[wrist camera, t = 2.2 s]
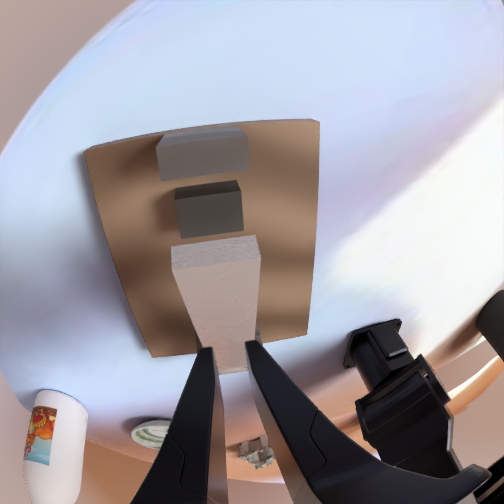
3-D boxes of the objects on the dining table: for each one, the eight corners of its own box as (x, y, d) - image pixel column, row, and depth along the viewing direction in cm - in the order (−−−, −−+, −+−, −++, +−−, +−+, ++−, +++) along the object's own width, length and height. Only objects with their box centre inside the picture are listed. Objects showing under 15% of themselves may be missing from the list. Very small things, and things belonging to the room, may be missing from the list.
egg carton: (250, 451, 45) (253, 470, 41) (232, 441, 40) (236, 462, 37) (305, 434, 44) (311, 453, 40) (294, 422, 40) (300, 444, 36)
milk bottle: (82, 394, 28) (71, 544, 11) (93, 420, 32) (89, 546, 15) (30, 382, 26) (6, 520, 9) (46, 410, 30) (32, 529, 13)
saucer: (119, 412, 31) (118, 427, 29) (189, 407, 32) (190, 424, 30) (145, 439, 36) (145, 452, 34) (205, 435, 37) (207, 448, 35)
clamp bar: (249, 355, 23) (252, 371, 22) (213, 361, 23) (215, 377, 22) (254, 230, 11) (262, 262, 10) (171, 241, 10) (172, 274, 9)
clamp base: (302, 323, 27) (321, 369, 22) (153, 345, 25) (150, 394, 21) (310, 118, 17) (351, 132, 13) (92, 146, 16) (56, 170, 11)
